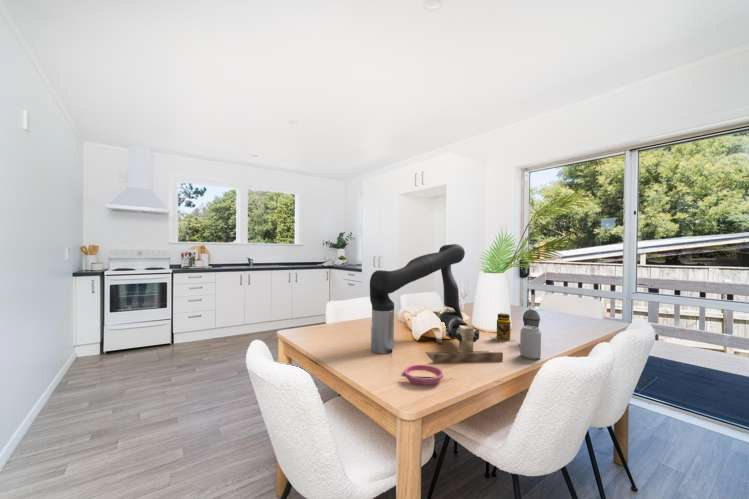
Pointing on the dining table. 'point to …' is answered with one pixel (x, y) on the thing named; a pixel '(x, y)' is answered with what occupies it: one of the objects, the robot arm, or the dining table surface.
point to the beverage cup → (531, 318)
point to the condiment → (503, 328)
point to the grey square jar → (530, 342)
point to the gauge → (466, 339)
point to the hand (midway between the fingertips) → (467, 339)
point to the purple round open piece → (423, 380)
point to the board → (465, 356)
